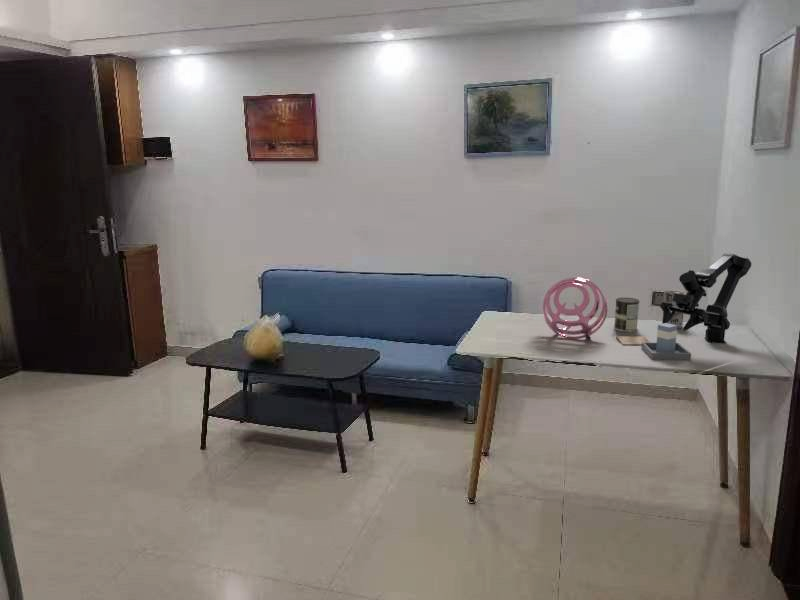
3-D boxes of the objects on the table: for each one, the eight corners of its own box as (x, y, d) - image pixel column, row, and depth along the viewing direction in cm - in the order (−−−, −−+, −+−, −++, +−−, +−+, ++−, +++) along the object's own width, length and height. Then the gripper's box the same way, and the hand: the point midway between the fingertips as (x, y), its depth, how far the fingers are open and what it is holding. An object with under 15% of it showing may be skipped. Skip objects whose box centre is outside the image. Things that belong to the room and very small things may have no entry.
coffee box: (683, 328, 274) (685, 294, 270) (669, 328, 274) (671, 294, 270) (674, 322, 283) (677, 290, 279) (661, 323, 283) (663, 290, 279)
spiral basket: (562, 283, 284) (554, 259, 261) (619, 303, 270) (615, 279, 247) (537, 333, 279) (527, 313, 256) (593, 356, 265) (588, 337, 242)
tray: (677, 349, 242) (678, 342, 241) (690, 361, 228) (691, 353, 227) (641, 349, 244) (641, 342, 243) (651, 360, 230) (652, 353, 229)
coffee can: (613, 330, 272) (615, 301, 269) (614, 325, 281) (616, 296, 278) (637, 332, 268) (639, 302, 265) (637, 326, 277) (639, 298, 274)
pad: (644, 338, 258) (644, 336, 258) (652, 346, 247) (652, 344, 247) (616, 338, 260) (616, 336, 260) (622, 346, 248) (622, 344, 248)
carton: (663, 351, 239) (665, 322, 237) (674, 354, 235) (677, 325, 232) (655, 353, 237) (657, 324, 234) (666, 356, 232) (669, 327, 230)
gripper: (664, 282, 242) (645, 311, 239) (707, 289, 227) (687, 321, 224) (674, 298, 248) (655, 327, 245) (716, 306, 232) (697, 337, 229)
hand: (673, 328), depth 236 cm, fingers open, 9 cm apart
